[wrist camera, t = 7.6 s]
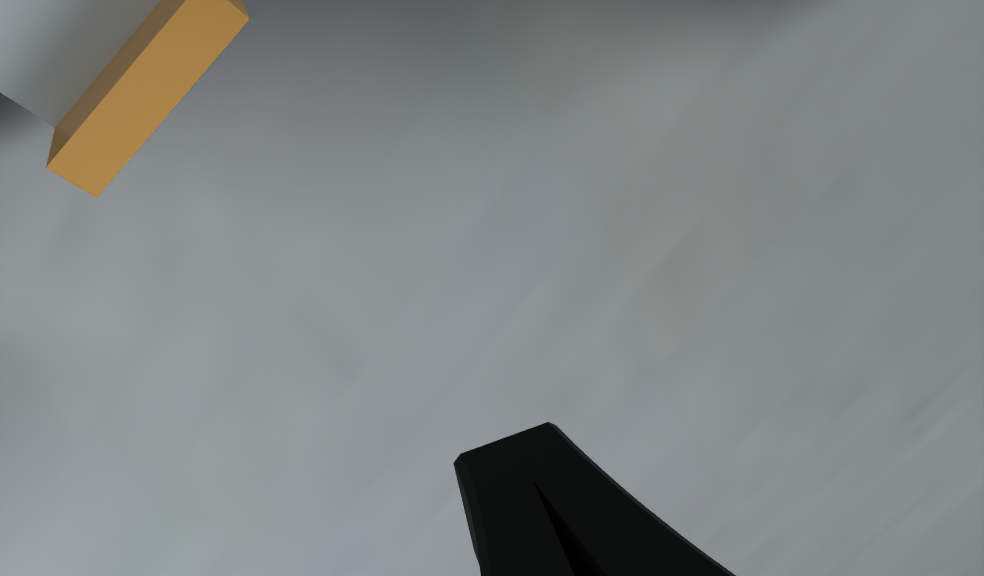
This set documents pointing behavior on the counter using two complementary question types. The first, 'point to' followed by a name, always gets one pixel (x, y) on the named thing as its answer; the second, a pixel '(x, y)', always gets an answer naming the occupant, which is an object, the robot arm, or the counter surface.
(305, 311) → the counter surface
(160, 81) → the lid
